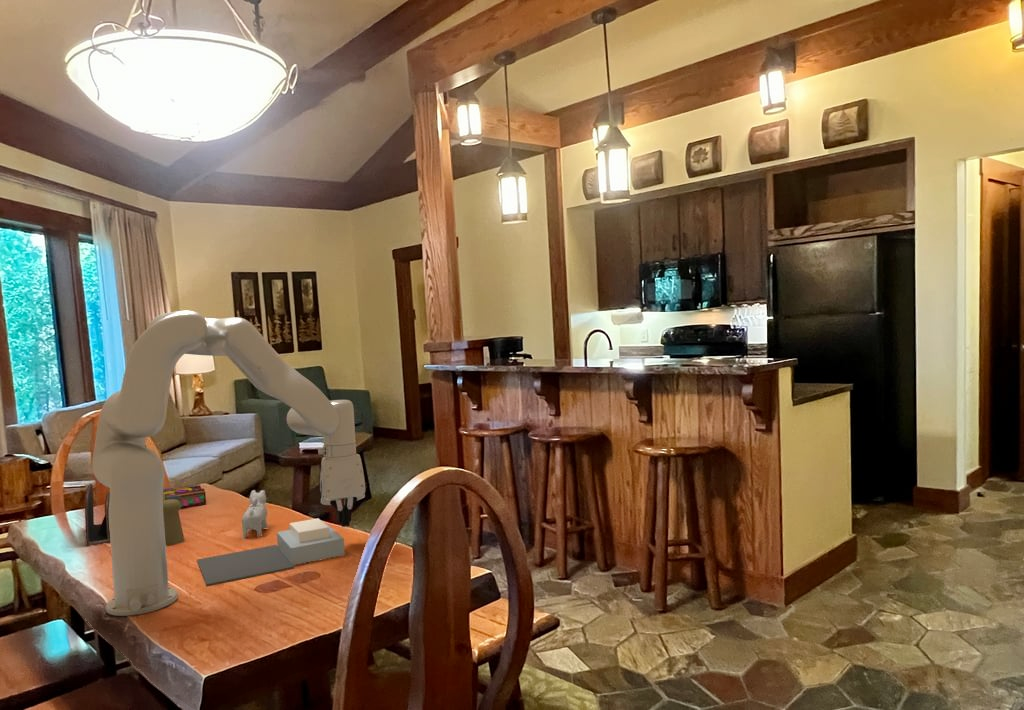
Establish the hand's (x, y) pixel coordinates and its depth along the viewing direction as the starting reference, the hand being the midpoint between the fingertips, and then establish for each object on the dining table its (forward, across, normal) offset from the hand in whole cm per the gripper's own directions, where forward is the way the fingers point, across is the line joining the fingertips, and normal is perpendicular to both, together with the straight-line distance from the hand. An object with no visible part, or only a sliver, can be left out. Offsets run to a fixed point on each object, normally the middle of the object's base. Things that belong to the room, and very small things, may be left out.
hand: (344, 525), depth 173 cm
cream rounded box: (+1, -9, 0) cm, 9 cm away
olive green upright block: (+5, -37, +32) cm, 49 cm away
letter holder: (+5, -51, +52) cm, 73 cm away
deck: (+5, -9, 0) cm, 10 cm away
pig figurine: (+5, -17, +27) cm, 32 cm away
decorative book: (+5, -30, +78) cm, 84 cm away
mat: (+5, -24, 0) cm, 24 cm away
